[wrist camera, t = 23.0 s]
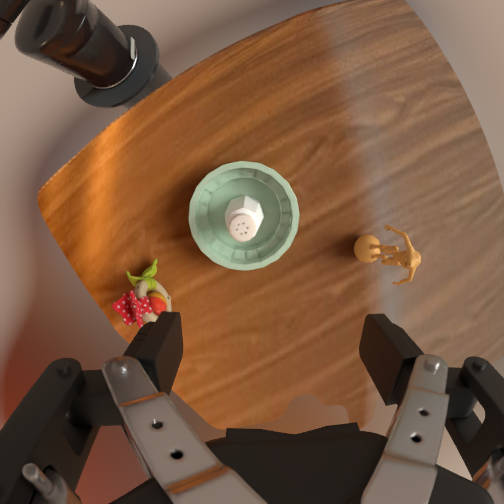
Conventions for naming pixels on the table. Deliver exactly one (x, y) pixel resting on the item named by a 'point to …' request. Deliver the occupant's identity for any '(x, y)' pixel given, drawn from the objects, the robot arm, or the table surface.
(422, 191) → the table surface
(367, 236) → the figurine
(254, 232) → the pepper shaker
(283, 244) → the bowl
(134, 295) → the bird rattle
